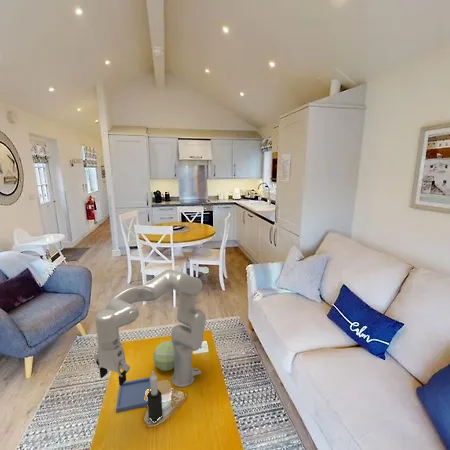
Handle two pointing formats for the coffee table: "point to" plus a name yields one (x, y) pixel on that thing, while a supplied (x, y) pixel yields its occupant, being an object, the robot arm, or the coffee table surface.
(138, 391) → the slate blue tray
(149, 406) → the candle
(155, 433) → the coffee table surface
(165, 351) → the decorative sphere
